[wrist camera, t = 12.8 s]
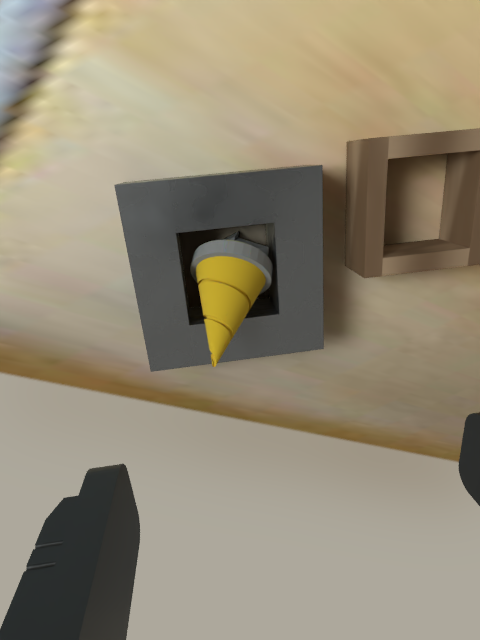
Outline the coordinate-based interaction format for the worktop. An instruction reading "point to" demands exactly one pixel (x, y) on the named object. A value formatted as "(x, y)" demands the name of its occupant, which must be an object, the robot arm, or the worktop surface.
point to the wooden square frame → (370, 201)
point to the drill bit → (229, 285)
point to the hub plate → (222, 212)
